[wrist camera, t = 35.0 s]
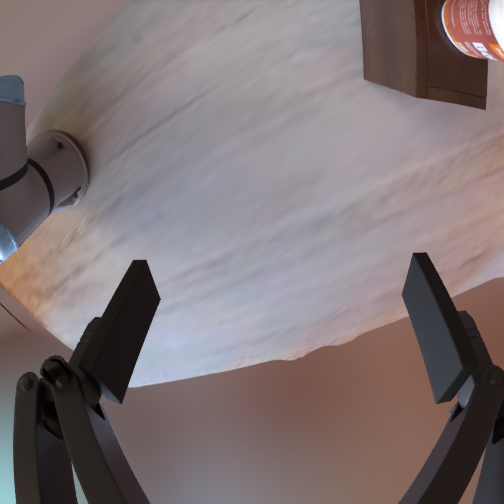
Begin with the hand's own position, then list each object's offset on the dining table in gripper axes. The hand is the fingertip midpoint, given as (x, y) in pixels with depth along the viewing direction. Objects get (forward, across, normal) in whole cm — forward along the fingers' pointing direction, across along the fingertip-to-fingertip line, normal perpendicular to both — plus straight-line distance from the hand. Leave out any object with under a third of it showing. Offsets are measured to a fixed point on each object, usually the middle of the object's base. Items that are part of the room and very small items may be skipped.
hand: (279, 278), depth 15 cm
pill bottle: (+14, +18, +15) cm, 27 cm away
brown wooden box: (+23, +12, +15) cm, 30 cm away
